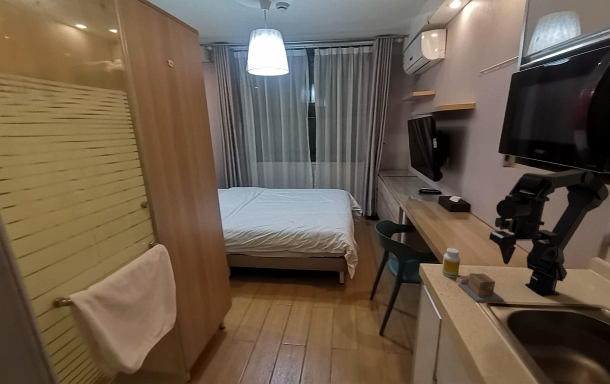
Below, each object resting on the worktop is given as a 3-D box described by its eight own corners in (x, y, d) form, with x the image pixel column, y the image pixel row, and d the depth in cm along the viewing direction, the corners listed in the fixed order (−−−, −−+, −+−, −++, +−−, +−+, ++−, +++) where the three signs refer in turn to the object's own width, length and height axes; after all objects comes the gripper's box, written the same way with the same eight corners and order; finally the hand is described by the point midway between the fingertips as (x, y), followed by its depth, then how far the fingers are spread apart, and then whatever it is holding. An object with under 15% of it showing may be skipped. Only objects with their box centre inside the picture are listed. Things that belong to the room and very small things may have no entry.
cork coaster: (477, 274, 103) (477, 272, 103) (489, 283, 97) (489, 281, 97) (462, 274, 103) (462, 273, 103) (472, 283, 97) (473, 282, 97)
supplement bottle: (459, 278, 99) (463, 254, 97) (443, 277, 100) (447, 252, 98) (455, 271, 104) (458, 247, 102) (439, 269, 105) (442, 246, 103)
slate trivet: (482, 284, 96) (483, 283, 95) (503, 300, 87) (503, 299, 87) (458, 285, 95) (458, 284, 95) (476, 302, 86) (476, 300, 86)
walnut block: (481, 286, 93) (484, 273, 92) (492, 295, 88) (495, 281, 87) (467, 287, 93) (470, 273, 92) (477, 296, 88) (480, 282, 87)
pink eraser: (467, 280, 99) (468, 275, 98) (472, 283, 97) (473, 278, 96) (456, 282, 98) (456, 277, 97) (460, 285, 96) (461, 280, 95)
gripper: (534, 207, 91) (525, 251, 94) (480, 208, 89) (473, 252, 93) (568, 218, 80) (556, 267, 84) (508, 219, 78) (498, 269, 82)
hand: (519, 263), depth 86 cm, fingers open, 9 cm apart
